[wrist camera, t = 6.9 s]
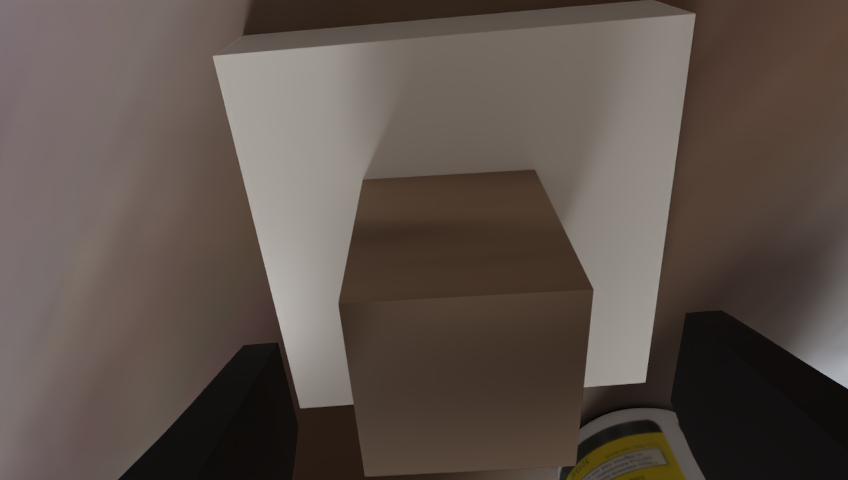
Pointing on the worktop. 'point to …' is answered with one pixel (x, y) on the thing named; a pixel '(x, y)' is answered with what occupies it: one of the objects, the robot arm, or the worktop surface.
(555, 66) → the riser
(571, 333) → the block
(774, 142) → the worktop surface
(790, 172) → the worktop surface
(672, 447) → the supplement bottle
